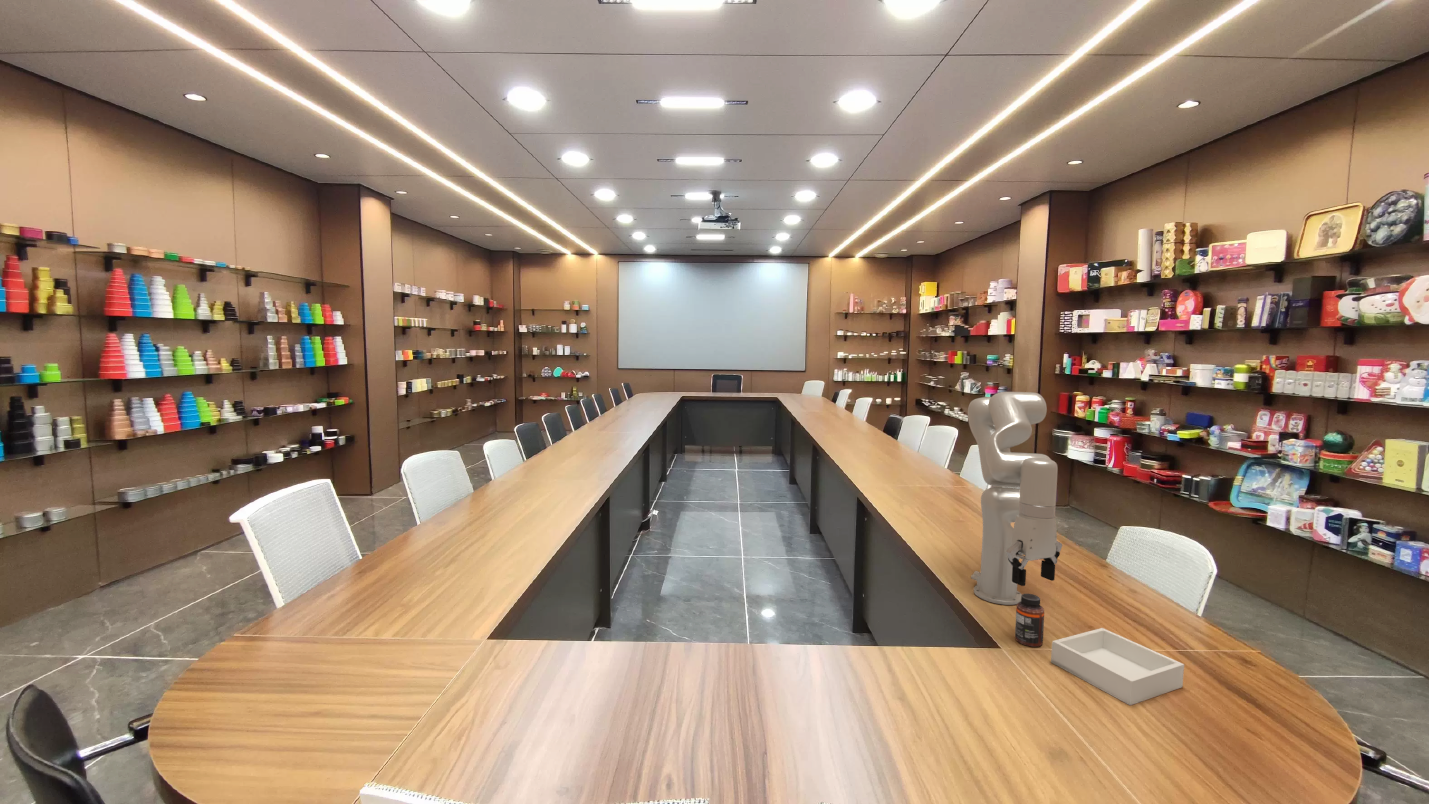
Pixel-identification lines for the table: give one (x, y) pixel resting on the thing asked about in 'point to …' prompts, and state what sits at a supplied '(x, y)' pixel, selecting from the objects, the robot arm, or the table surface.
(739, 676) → the table surface
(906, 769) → the table surface
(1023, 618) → the supplement bottle
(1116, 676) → the tray
